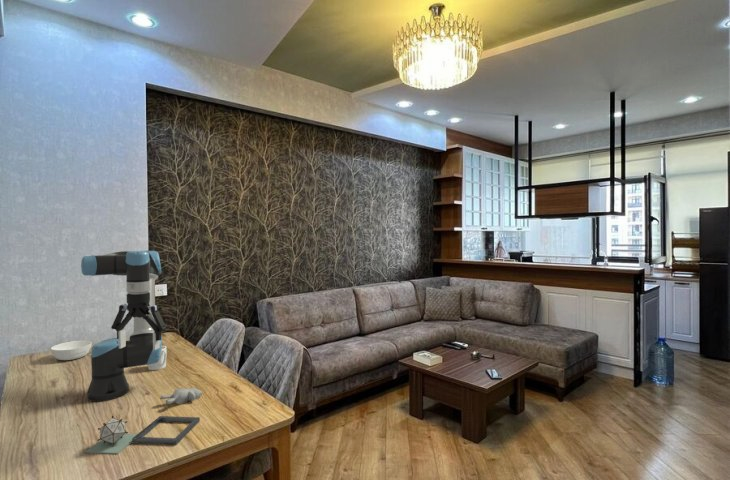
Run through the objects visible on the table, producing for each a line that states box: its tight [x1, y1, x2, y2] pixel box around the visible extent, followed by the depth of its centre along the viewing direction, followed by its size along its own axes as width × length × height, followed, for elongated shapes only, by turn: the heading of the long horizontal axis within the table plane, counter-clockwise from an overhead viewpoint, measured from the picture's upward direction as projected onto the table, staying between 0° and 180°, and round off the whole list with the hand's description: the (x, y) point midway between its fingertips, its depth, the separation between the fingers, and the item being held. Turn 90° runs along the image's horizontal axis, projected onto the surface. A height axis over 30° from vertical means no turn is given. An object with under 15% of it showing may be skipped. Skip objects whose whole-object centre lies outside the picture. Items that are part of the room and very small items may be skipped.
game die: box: [97, 415, 129, 447], centre depth 126 cm, size 9×8×10 cm
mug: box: [147, 345, 168, 372], centre depth 195 cm, size 11×9×10 cm
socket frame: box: [131, 415, 201, 446], centre depth 134 cm, size 15×15×2 cm
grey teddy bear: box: [159, 386, 203, 405], centre depth 157 cm, size 10×5×15 cm
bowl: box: [50, 339, 93, 361], centre depth 211 cm, size 18×18×7 cm
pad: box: [84, 433, 138, 455], centre depth 126 cm, size 11×11×1 cm
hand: (139, 348), depth 142 cm, fingers open, 13 cm apart
